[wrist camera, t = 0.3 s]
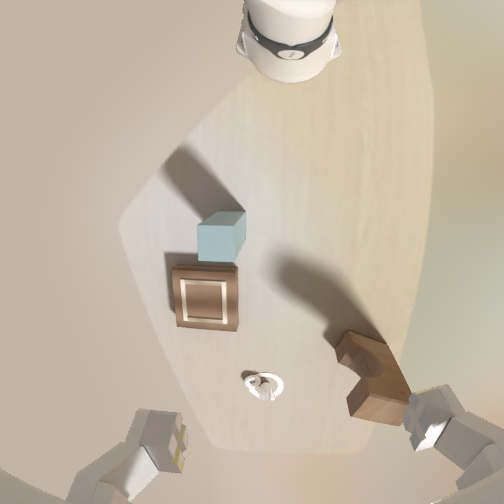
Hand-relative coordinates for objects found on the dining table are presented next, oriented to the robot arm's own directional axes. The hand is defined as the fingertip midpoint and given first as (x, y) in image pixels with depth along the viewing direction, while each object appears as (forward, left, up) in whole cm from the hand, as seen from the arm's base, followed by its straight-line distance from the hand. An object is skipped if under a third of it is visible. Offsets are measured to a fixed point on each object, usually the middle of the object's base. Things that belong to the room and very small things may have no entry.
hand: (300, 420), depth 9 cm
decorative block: (+27, +17, -46) cm, 56 cm away
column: (+2, -10, -46) cm, 47 cm away
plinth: (+16, -15, -46) cm, 51 cm away
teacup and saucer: (+35, -3, -46) cm, 58 cm away
